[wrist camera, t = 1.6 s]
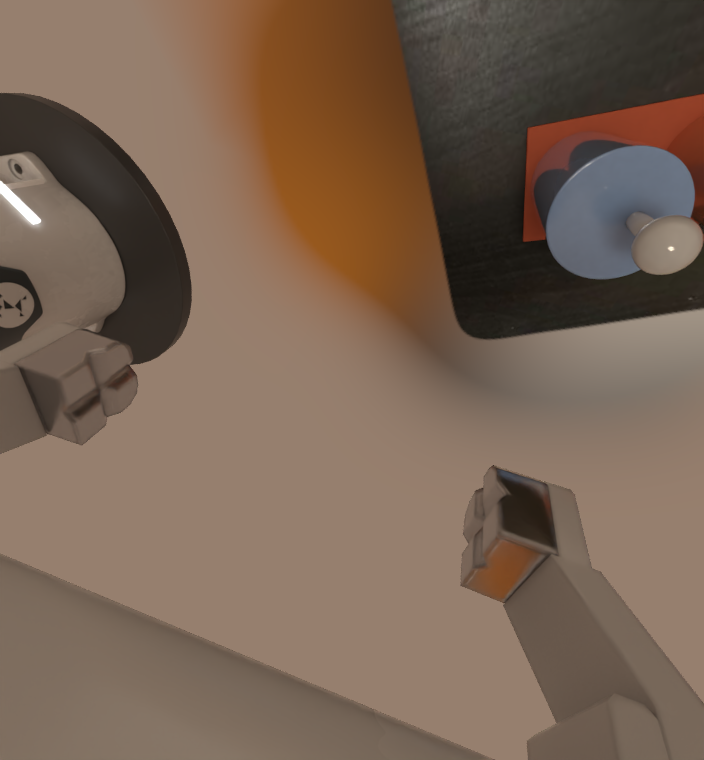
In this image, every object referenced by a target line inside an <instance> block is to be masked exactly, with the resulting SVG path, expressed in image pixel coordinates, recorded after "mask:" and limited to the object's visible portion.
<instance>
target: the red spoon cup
mask: <svg viewBox="0 0 704 760" xmlns="http://www.w3.org/2000/svg"><path fill="white" fill-rule="evenodd" d="M667 151H668V152H670V153H672V154H674V155H675V156H677V157H678V158H679V159H680V160H681V161H682V162H683V163H684V164H685V165H686V166H687V168H688V170H689V172H690V173H691V176H692V179H693V182H694V188H695V201H694V207H693V211H692V214H691V217H690V218H691V219H693V220H695V221H697V222H698V223H700V224H702V225H703V226H704V115H703V116H702V117H700V118H698V119H697V120H695V121H694V122H693V123H691V124H690V125H689V126H687V127H686V128H685V129H684V130H683V131H682V132H681V133H680V134H679V135H678V136H677V137H676V138H675V139H674V141H673V142H672V143H671V144H670V146H669V147H668V149H667Z"/></svg>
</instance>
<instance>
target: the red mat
mask: <svg viewBox="0 0 704 760" xmlns="http://www.w3.org/2000/svg"><path fill="white" fill-rule="evenodd" d="M703 115H704V94H699V95H693V96H688V97H683V98H678V99H673V100H668V101H662V102H657V103H652V104H647V105H642V106H637V107H631V108H626V109H621V110H616V111H611V112H606V113H601V114H595V115H590V116H585V117H580V118H575V119H570V120H564V121H559V122H554V123H549V124H544V125H539V126H533V127H528V128H527V150H526V174H525V199H524V224H523V242H526V241H536V240H545V236H544V234H543V231H542V228H541V226H540V223H539V220H538V218H537V215H536V212H535V210H534V207H533V204H532V201H531V196H530V186H531V180H532V176H533V173H534V171H535V169H536V167H537V165H538V163H539V162H540V160H541V158H542V157H543V156H544V155H545V153H546V152H547V151H548V150H549V149H550V148H551V147H553V146H554V145H555V144H556V143H558V142H559V141H561V140H562V139H564V138H566V137H568V136H570V135H573V134H575V133H579V132H583V131H600V132H604V133H608V134H612V135H615V136H619V137H622V138H626V139H629V140H633V141H637V142H640V143H644V144H647V145H651V146H655V147H658V148H661V149H664V150H667V149H668V147H669V146H670V144H671V143H672V142H673V141H674V139H675V138H676V137H677V136H678V135H679V134H680V133H681V132H682V131H683V130H684V129H685V128H686V127H687V126H689V125H690V124H691V123H693V122H694V121H695V120H697V119H698V118H700V117H702V116H703ZM694 221H695V220H694ZM695 222H696V223H698V222H697V221H695Z"/></svg>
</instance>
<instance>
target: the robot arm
mask: <svg viewBox="0 0 704 760" xmlns="http://www.w3.org/2000/svg"><path fill="white" fill-rule="evenodd" d="M124 295H125V274H124V269H123V265H122V262H121V259H120V256H119V254H118V251H117V249H116V247H115V245H114V243H113V241H112V239H111V238H110V236H109V234H108V233H107V231H106V230H105V228H104V227H103V225H102V224H101V223H100V221H99V220H98V219H97V218H96V216H95V215H94V214H93V213H92V212H91V211H90V210H89V209H88V208H87V207H86V206H85V205H84V204H83V203H82V202H81V201H80V200H79V199H78V198H76V197H75V196H74V195H73V194H71V193H70V192H69V191H68V190H66V189H65V188H64V187H63V186H62V185H61V184H60V183H59V182H58V181H57V180H56V178H55V177H54V176H53V174H52V173H51V172H50V170H49V169H48V168H47V167H46V165H45V164H44V163H43V162H42V161H41V160H40V158H39V157H37V156H36V155H35V154H34V153H32V152H29V151H26V152H20V153H14V154H8V155H2V156H0V454H1V453H4V452H7V451H9V450H12V449H14V448H17V447H19V446H22V445H24V444H27V443H29V442H32V441H34V440H37V439H40V438H42V437H44V436H46V433H47V434H50V435H53V436H56V437H59V438H62V439H65V440H67V441H70V442H73V443H76V444H79V445H83V444H84V443H86V442H87V441H88V440H89V439H90V438H91V437H93V436H94V435H95V434H96V433H97V432H99V431H100V430H101V429H102V428H103V427H105V425H106V422H107V417H108V416H112V415H115V414H118V413H121V412H122V411H123V410H125V408H127V407H128V406H129V405H130V404H131V402H132V401H133V399H134V397H135V395H136V394H137V387H138V380H137V375H136V374H135V372H134V371H133V369H132V368H131V367H130V365H129V364H130V363H131V362H132V361H133V355H132V351H131V347H130V346H128V345H127V344H125V343H124V342H121V341H118V340H115V339H113V338H110V337H107V336H104V335H101V334H99V333H98V332H100V331H101V329H102V327H103V324H104V320H105V318H106V317H107V316H108V315H110V314H112V313H113V312H115V311H116V310H117V309H118V308H119V306H120V305H121V303H122V301H123V299H124ZM463 535H464V536H465V538H466V540H467V542H468V546H467V547H466V549H465V550H464V552H463V553H462V565H461V586H462V587H465V588H468V589H470V590H472V591H475V592H477V593H480V594H482V595H485V596H488V597H490V598H493V599H495V600H497V601H500V602H502V603H505V604H504V605H503V606H504V608H505V610H506V612H507V615H508V617H509V619H510V621H511V624H512V626H513V627H514V630H515V632H516V635H517V637H518V639H519V641H520V643H521V646H522V648H523V650H524V652H525V654H526V657H527V659H528V661H529V663H530V665H531V667H532V670H533V672H534V674H535V676H536V678H537V681H538V683H539V685H540V687H541V690H542V692H543V694H544V696H545V698H546V701H547V703H548V705H549V707H550V710H551V712H552V714H553V716H554V718H555V721H556V723H557V724H555V725H553V726H551V727H549V728H547V729H545V730H543V731H541V732H539V733H538V734H536V735H534V736H533V737H531V738H530V739H529V740H528V741H527V752H528V760H704V703H703V702H702V701H701V699H700V698H699V697H698V695H697V694H696V693H695V692H694V691H693V689H692V688H691V687H690V685H689V684H688V683H687V681H686V680H685V679H684V678H683V677H682V675H681V674H680V673H679V671H678V670H677V669H676V667H675V666H674V665H673V664H672V662H671V661H670V660H669V658H668V657H667V656H666V655H665V653H664V652H663V651H662V649H661V648H660V647H659V646H658V645H657V643H656V642H655V641H654V639H653V638H652V637H651V635H650V634H649V633H648V632H647V630H646V629H645V628H644V626H643V625H642V624H641V623H640V621H639V620H638V619H637V618H636V616H635V615H634V614H633V612H632V611H631V610H630V609H629V608H628V606H627V605H626V604H625V602H624V601H623V600H622V598H621V597H620V596H619V595H618V594H617V592H616V591H615V589H614V588H613V587H612V586H611V584H610V583H609V582H608V581H607V579H606V578H605V577H604V576H603V574H602V573H601V572H600V571H597V570H595V569H592V567H591V562H590V559H589V554H588V550H587V545H586V541H585V537H584V533H583V528H582V524H581V519H580V515H579V511H578V507H577V503H576V498H575V494H574V493H573V492H572V491H571V490H570V489H567V488H564V487H561V486H557V485H554V484H551V483H547V482H543V481H541V480H538V479H535V478H531V477H528V476H525V475H522V474H519V473H516V472H513V471H509V470H507V469H504V468H501V467H497V466H494V465H493V466H492V467H490V468H489V469H488V471H487V472H486V474H485V476H484V485H483V488H481V489H479V490H476V491H475V493H474V494H473V496H472V498H471V500H470V502H469V505H468V508H467V511H466V514H465V520H464V530H463ZM0 760H494V759H492V758H489V757H487V756H485V755H482V754H480V753H477V752H475V751H472V750H470V749H468V748H465V747H463V746H461V745H458V744H456V743H453V742H451V741H449V740H446V739H444V738H441V737H439V736H436V735H434V734H432V733H429V732H427V731H424V730H422V729H420V728H417V727H415V726H413V725H410V724H408V723H405V722H403V721H401V720H398V719H396V718H393V717H391V716H389V715H386V714H384V713H381V712H379V711H377V710H374V709H372V708H369V707H367V706H365V705H362V704H360V703H357V702H355V701H353V700H350V699H348V698H345V697H343V696H341V695H338V694H336V693H333V692H331V691H328V690H326V689H324V688H321V687H319V686H317V685H314V684H312V683H310V682H307V681H305V680H302V679H300V678H297V677H295V676H293V675H290V674H288V673H285V672H283V671H281V670H278V669H276V668H274V667H271V666H269V665H266V664H264V663H261V662H259V661H257V660H254V659H252V658H250V657H247V656H245V655H242V654H240V653H237V652H235V651H233V650H230V649H228V648H226V647H223V646H221V645H218V644H216V643H214V642H211V641H209V640H206V639H204V638H202V637H199V636H197V635H194V634H192V633H190V632H187V631H185V630H182V629H180V628H177V627H175V626H173V625H170V624H168V623H166V622H163V621H160V620H158V619H156V618H153V617H151V616H149V615H146V614H144V613H142V612H139V611H137V610H134V609H132V608H130V607H127V606H125V605H122V604H120V603H118V602H115V601H113V600H110V599H108V598H105V597H103V596H101V595H98V594H96V593H93V592H91V591H89V590H86V589H84V588H81V587H79V586H77V585H74V584H72V583H70V582H67V581H65V580H62V579H60V578H57V577H55V576H53V575H51V574H48V573H46V572H43V571H41V570H39V569H36V568H34V567H31V566H28V565H27V564H24V563H21V562H19V561H17V560H15V559H12V558H10V557H7V556H5V555H3V554H0Z"/></svg>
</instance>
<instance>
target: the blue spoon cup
mask: <svg viewBox="0 0 704 760" xmlns="http://www.w3.org/2000/svg"><path fill="white" fill-rule="evenodd" d="M530 196H531V201H532V204H533V207H534V210H535V212H536V215H537V218H538V220H539V223H540V226H541V228H542V231H543V234H544V236H545V239H546V242H547V244H548V247H549V249H550V251H551V253H552V255H553V257H554V258H555V260H556V261H557V262H558V263H559V264H560V265H561V266H562V267H563V268H565V269H566V270H567V271H569V272H571V273H573V274H575V275H578V276H581V277H585V278H589V279H611V278H617V277H622V276H626V275H628V274H631V273H634V272H636V271H639V270H642V271H644V272H647V273H650V274H654V275H666V274H671V273H674V272H677V271H680V270H682V269H684V268H685V267H687V266H688V265H689V264H691V263H692V262H693V261H694V260H695V259H696V258H697V256H698V255H699V253H700V251H701V249H702V246H703V241H704V236H703V232H702V229H701V227H700V226H699V225H698V224H697V223H696V222H695V221H694V220H693V219H691V218H690V217H691V214H692V211H693V207H694V201H695V188H694V182H693V179H692V176H691V173H690V172H689V170H688V168H687V166H686V165H685V164H684V163H683V162H682V161H681V160H680V159H679V158H678V157H677V156H675V155H674V154H672V153H670V152H668V151H667V150H664V149H661V148H658V147H655V146H651V145H647V144H644V143H640V142H637V141H633V140H629V139H626V138H622V137H619V136H615V135H612V134H608V133H604V132H600V131H583V132H579V133H575V134H573V135H570V136H568V137H566V138H564V139H562V140H561V141H559V142H558V143H556V144H555V145H554V146H553V147H551V148H550V149H549V150H548V151H547V152H546V153H545V155H544V156H543V157H542V158H541V160H540V162H539V163H538V165H537V167H536V169H535V171H534V173H533V176H532V180H531V186H530Z"/></svg>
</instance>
